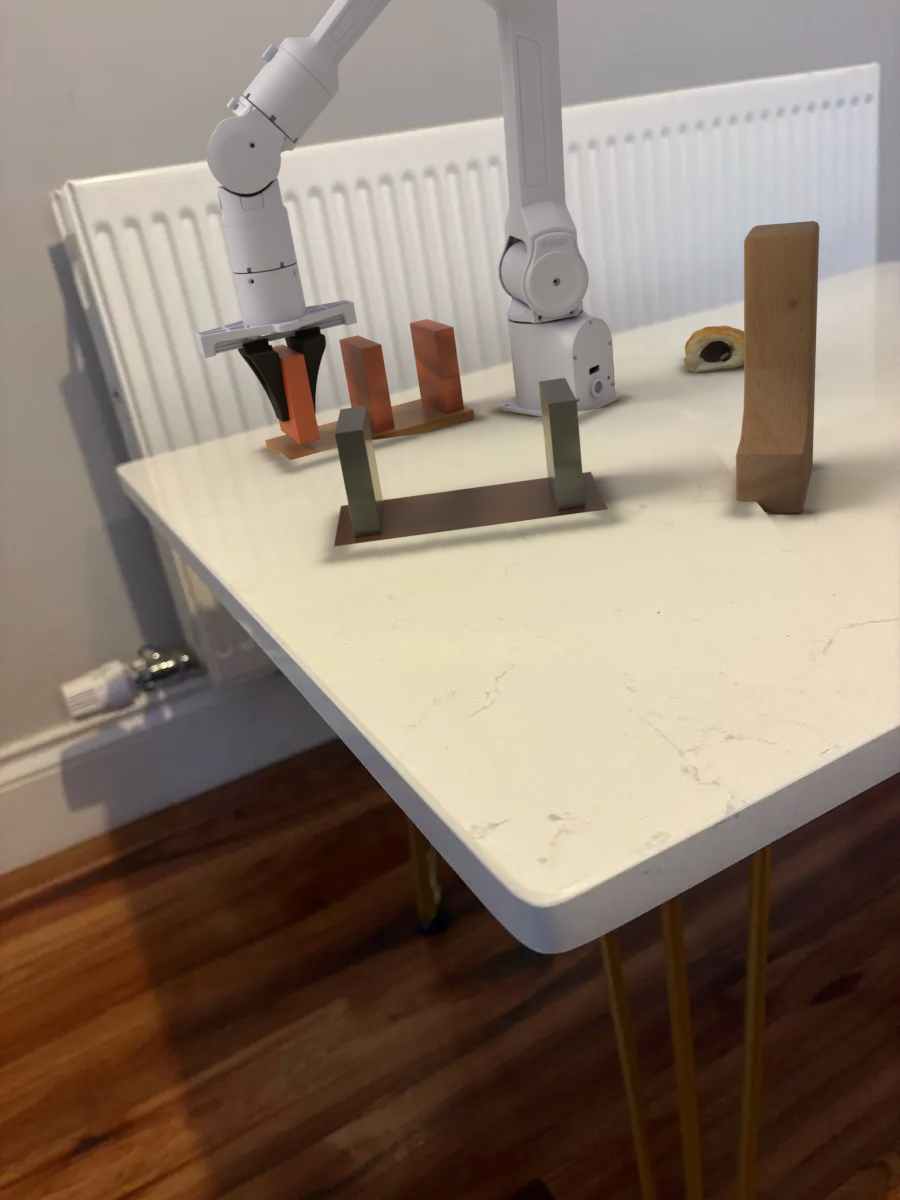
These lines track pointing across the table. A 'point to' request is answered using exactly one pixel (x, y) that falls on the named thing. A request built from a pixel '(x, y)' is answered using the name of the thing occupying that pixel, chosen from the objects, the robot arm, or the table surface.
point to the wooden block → (778, 365)
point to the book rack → (371, 390)
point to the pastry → (715, 349)
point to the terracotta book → (297, 397)
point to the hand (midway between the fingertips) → (295, 415)
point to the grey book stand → (473, 505)
